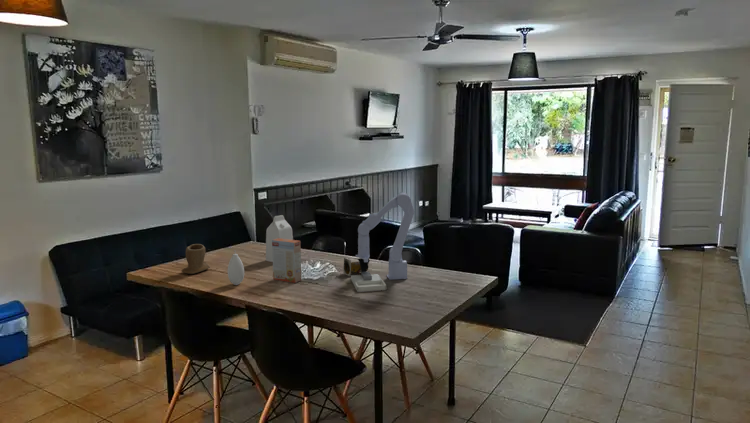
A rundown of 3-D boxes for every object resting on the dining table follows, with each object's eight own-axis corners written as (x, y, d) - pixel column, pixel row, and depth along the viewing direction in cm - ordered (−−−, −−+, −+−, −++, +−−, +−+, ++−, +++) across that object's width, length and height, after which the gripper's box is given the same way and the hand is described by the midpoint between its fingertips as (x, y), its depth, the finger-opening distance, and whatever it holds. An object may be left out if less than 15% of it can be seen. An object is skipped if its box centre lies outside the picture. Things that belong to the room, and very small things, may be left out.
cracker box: (302, 280, 274) (301, 240, 270) (294, 283, 269) (293, 242, 265) (280, 276, 281) (279, 237, 277) (272, 279, 275) (271, 239, 272)
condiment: (350, 276, 281) (369, 273, 288) (350, 260, 280) (370, 258, 286) (343, 273, 287) (362, 270, 293) (343, 257, 286) (362, 255, 292)
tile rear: (368, 275, 276) (368, 271, 276) (370, 277, 272) (370, 273, 272) (361, 275, 275) (361, 271, 275) (362, 277, 271) (362, 273, 271)
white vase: (239, 281, 273) (237, 246, 270) (247, 284, 267) (246, 249, 264) (225, 284, 267) (223, 249, 264) (233, 287, 262) (231, 251, 259)
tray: (382, 284, 267) (382, 279, 267) (386, 290, 258) (386, 285, 257) (354, 285, 265) (354, 281, 264) (357, 291, 255) (357, 287, 255)
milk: (280, 256, 323) (279, 213, 319) (294, 259, 316) (293, 215, 312) (265, 260, 313) (264, 216, 309) (279, 263, 307) (278, 218, 302)
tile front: (370, 277, 272) (370, 273, 271) (371, 279, 268) (371, 276, 267) (362, 278, 271) (362, 274, 271) (363, 280, 267) (363, 276, 267)
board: (378, 277, 278) (378, 274, 278) (382, 284, 268) (382, 280, 267) (351, 279, 276) (351, 275, 275) (354, 285, 265) (354, 281, 265)
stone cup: (194, 276, 281) (192, 248, 278) (178, 273, 287) (176, 246, 284) (216, 269, 294) (214, 243, 291) (200, 267, 300) (199, 240, 297)
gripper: (353, 244, 283) (354, 269, 285) (358, 250, 269) (358, 276, 271) (367, 243, 284) (367, 268, 286) (372, 249, 270) (372, 276, 272)
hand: (363, 272), depth 279 cm, fingers closed
